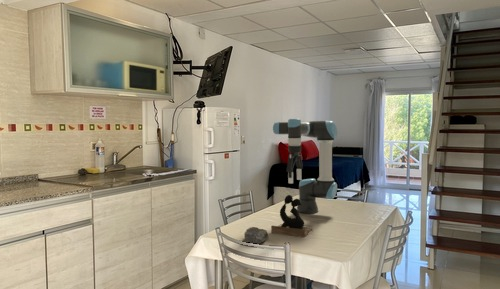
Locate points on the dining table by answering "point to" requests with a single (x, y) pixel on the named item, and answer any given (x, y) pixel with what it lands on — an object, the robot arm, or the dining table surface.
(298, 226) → the figurine
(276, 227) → the display board
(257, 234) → the rock
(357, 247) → the dining table surface
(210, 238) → the dining table surface
